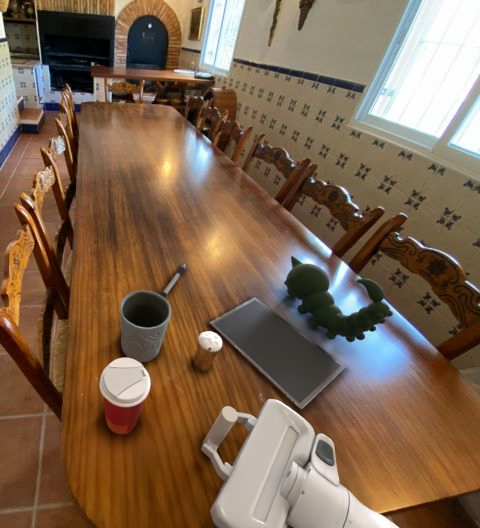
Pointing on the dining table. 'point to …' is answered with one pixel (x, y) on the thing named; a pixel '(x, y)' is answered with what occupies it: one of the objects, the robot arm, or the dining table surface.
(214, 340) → the milkshake
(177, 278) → the pen
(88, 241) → the dining table surface
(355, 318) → the toy figurine
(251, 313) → the tablet
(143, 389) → the paper cup
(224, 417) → the white cylindrical rod
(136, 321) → the grey embossed cup
